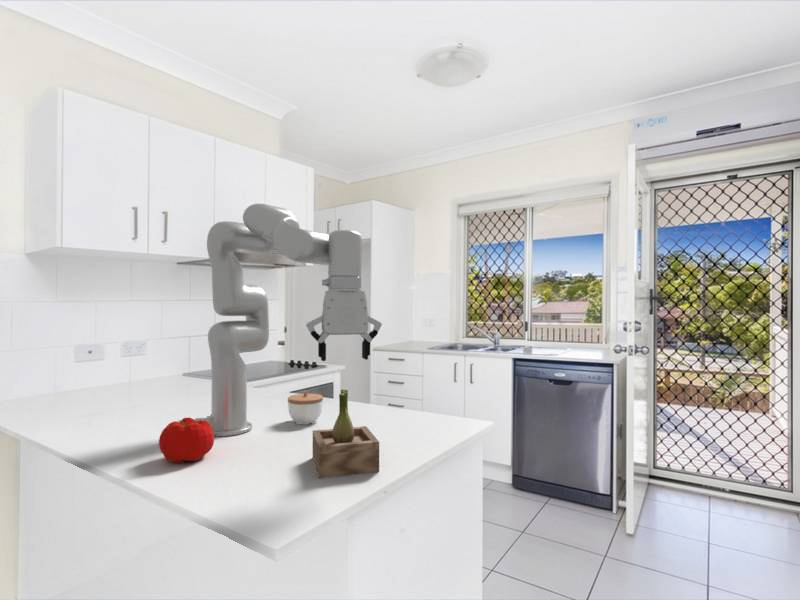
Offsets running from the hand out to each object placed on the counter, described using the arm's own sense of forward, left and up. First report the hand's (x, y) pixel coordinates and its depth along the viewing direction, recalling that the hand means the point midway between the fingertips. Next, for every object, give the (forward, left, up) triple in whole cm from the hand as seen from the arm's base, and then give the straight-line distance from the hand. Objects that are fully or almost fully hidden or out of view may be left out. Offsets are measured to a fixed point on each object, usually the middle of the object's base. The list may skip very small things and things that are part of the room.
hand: (344, 359), depth 102 cm
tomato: (-35, +15, -24) cm, 45 cm away
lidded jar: (-5, +40, -24) cm, 47 cm away
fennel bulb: (0, 0, -19) cm, 19 cm away
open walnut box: (0, 0, -24) cm, 24 cm away
